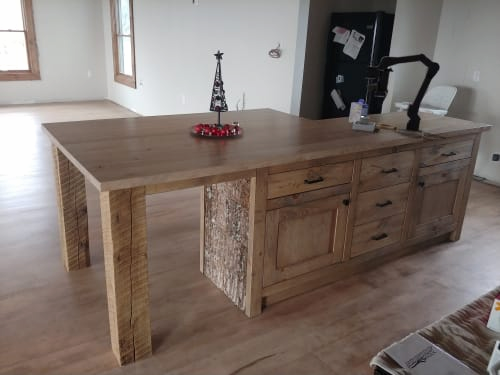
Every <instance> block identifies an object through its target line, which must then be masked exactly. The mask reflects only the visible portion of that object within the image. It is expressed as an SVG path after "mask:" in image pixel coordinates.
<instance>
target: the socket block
mask: <svg viewBox="0 0 500 375" xmlns="http://www.w3.org/2000/svg"><path fill="white" fill-rule="evenodd" d="M395 128H396V124H389V123H380V122H378V123H377V122H376V124H375V129H380V130H381V129H382V130H390V131H394V130H395Z"/></svg>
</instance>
